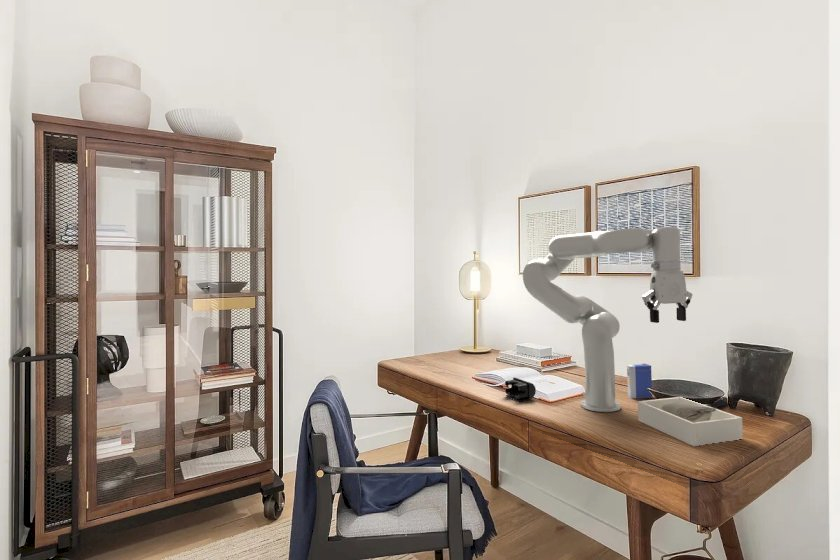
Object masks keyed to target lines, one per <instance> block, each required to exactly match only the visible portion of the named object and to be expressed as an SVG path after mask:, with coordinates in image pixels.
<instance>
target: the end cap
mask: <svg viewBox="0 0 840 560" xmlns="http://www.w3.org/2000/svg"><path fill="white" fill-rule="evenodd" d="M504 386H511V387H508V388H505V389H504V390H505V397H506V396H508V397H510V398H512V399H511V400H513V399H514V400H513V401H515V400H516V402H517V401H518V403H523V402H524V401H525V402H528V401H531V400H532V399H533V398H534V397H535V395H536V392H537V391H536V385H534V384H533V383H532V382H530V381H526V380H523V379H521V378H518V377H513V378H512V379H510V380H505V381H504ZM508 397H507V398H508ZM510 398H509V399H510Z"/></svg>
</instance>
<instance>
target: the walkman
mask: <svg viewBox="0 0 840 560" xmlns="http://www.w3.org/2000/svg"><path fill="white" fill-rule="evenodd" d="M626 370H627V371H626V372H627V373H626V375H627V377H626V378H627V397H628V398H629V399H646V398H647V399H649V398H651V399H652V398H653V393H652V394H651V393H650V392H649V390H648V389H647V388H652V389H653V384H652V383H653V381H652V376H653V375H652V365H650V364H648V363H641V364H627V365H626Z"/></svg>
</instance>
